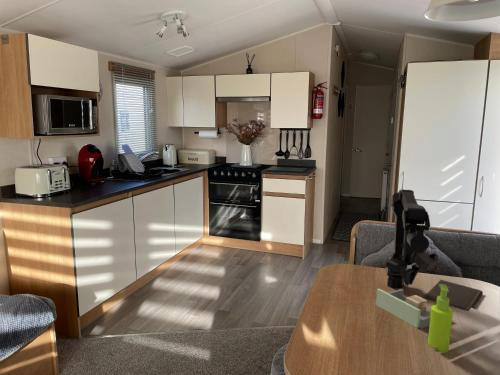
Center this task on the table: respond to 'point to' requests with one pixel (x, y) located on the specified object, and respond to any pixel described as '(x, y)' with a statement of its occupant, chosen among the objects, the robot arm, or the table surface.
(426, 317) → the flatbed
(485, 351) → the table surface
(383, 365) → the table surface
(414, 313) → the panel
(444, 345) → the soap dispenser
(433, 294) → the hardcover book
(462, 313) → the table surface
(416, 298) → the beech block
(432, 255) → the robot arm
